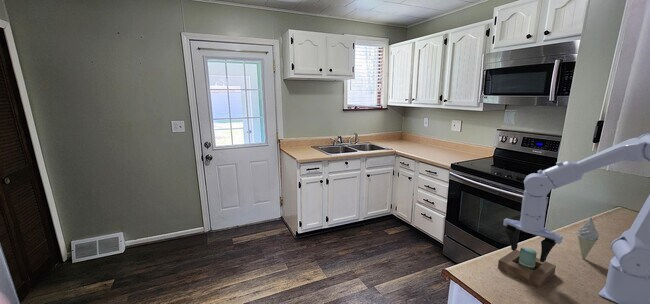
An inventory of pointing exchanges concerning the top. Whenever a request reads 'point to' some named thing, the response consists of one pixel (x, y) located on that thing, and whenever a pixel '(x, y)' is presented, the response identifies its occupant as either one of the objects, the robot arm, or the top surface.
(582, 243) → the ice cream cone
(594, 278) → the top surface
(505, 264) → the stand
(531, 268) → the peg
